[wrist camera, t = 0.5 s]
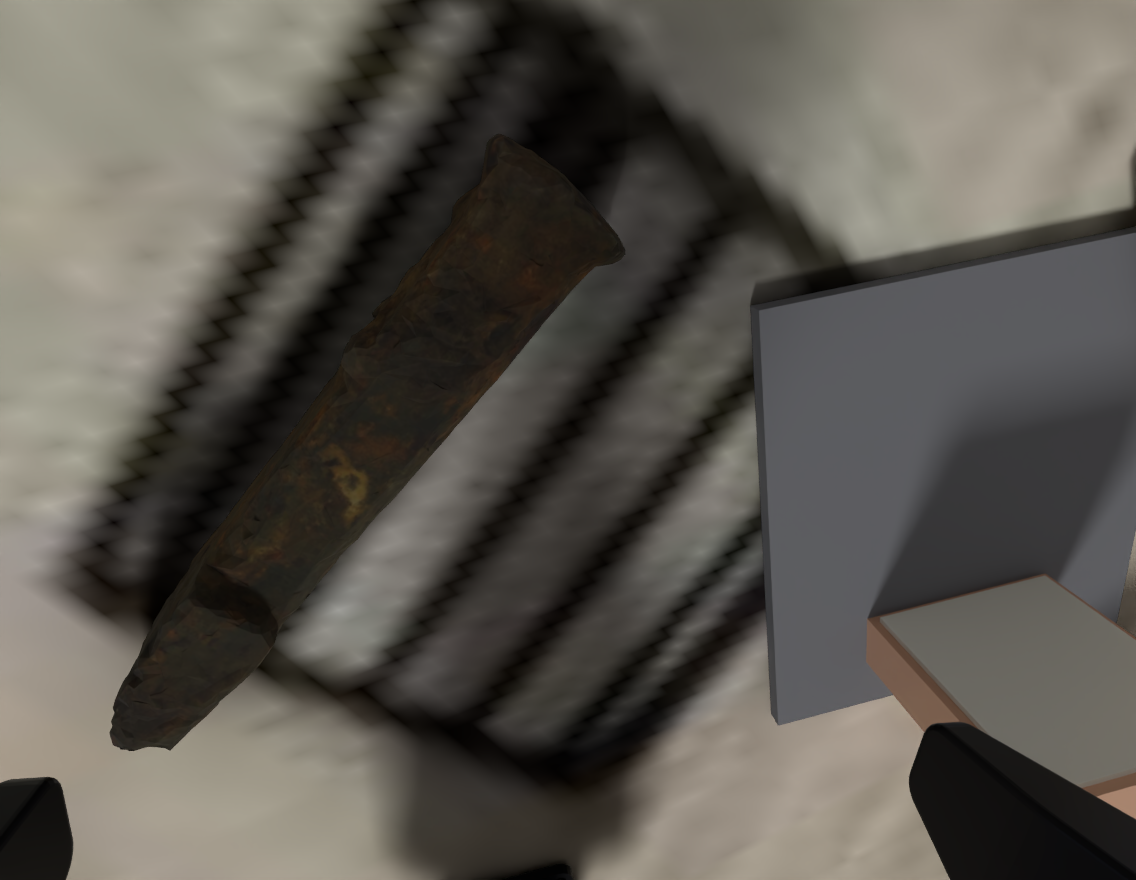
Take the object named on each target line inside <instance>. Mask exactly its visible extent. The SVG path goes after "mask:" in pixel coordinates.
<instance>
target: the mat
mask: <svg viewBox="0 0 1136 880" xmlns="http://www.w3.org/2000/svg"><path fill="white" fill-rule="evenodd" d="M750 308H751V327H752V347H753V366H754V386H755V405H756V425H757V444H758V464H759V483H760V503H761V523H762V542H763V562H764V581H765V601H766V620H767V640H768V659H769V679H770V698H771V714H772V716H773V717H774V719H775V721H776V723H777V724H778V725H782V724H786V723H790V722H793V721H797V720H801V719H805V718H808V717H812V716H816V715H820V714H823V713H827V712H831V711H835V710H838V709H842V708H846V707H850V706H853V705H857V704H861V703H865V702H868V701H872V700H876V699H880V698H884V697H887V696H891V695H893V694H892V693H891V691H890V690H889V689H888V688H887V686H886V685H885V684H884V683H883V682H882V680H881V679H880V678H879V677H878V676H877V674H876V673H875V672H874V671H873V670H872V668H871V667H870V666H869V665H868V664H867V662H866V647H867V619H868V618H872V617H876V616H880V615H884V614H888V613H892V612H896V611H900V610H904V609H908V608H912V607H915V606H919V605H923V604H927V603H931V602H935V601H939V600H943V599H947V598H951V597H955V596H959V595H963V594H967V593H971V592H974V591H978V590H982V589H986V588H990V587H994V586H998V585H1002V584H1006V583H1010V582H1014V581H1018V580H1022V579H1026V578H1030V577H1033V576H1037V575H1041V574H1045V573H1046V574H1047V575H1048V576H1050V577H1051V578H1053V579H1054V580H1055V581H1057V582H1058V583H1060V584H1061V585H1062V586H1064V587H1065V588H1067V589H1068V590H1069V591H1071V592H1072V593H1074V594H1075V595H1077V596H1078V597H1079V598H1081V599H1082V600H1084V601H1085V602H1086V603H1088V604H1089V605H1091V606H1092V607H1093V608H1095V609H1096V610H1098V611H1099V612H1100V613H1102V614H1103V615H1105V616H1106V617H1107V618H1109V619H1110V620H1112V621H1113V622H1115V623H1117V618H1118V614H1119V609H1120V604H1121V599H1122V594H1123V589H1124V584H1125V580H1126V575H1127V570H1128V565H1129V560H1130V555H1131V551H1132V546H1133V541H1134V536H1135V531H1136V227H1132V228H1127V229H1122V230H1117V231H1112V232H1107V233H1103V234H1098V235H1093V236H1088V237H1083V238H1078V239H1073V240H1068V241H1064V242H1059V243H1054V244H1049V245H1044V246H1039V247H1034V248H1030V249H1025V250H1020V251H1015V252H1010V253H1005V254H1000V255H996V256H991V257H986V258H981V259H976V260H971V261H966V262H961V263H957V264H952V265H947V266H942V267H937V268H932V269H927V270H923V271H918V272H913V273H908V274H903V275H898V276H893V277H889V278H884V279H879V280H874V281H869V282H864V283H859V284H854V285H850V286H845V287H840V288H835V289H830V290H825V291H820V292H816V293H811V294H806V295H801V296H796V297H791V298H786V299H782V300H777V301H772V302H767V303H762V304H757V305H752V306H750Z"/></svg>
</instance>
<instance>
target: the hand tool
mask: <svg viewBox="0 0 1136 880" xmlns="http://www.w3.org/2000/svg"><path fill="white" fill-rule="evenodd" d="M624 255H625V249H624V247H623V245H622V243H621V241H620V239H619V237H618V235H617V234H616V233H615V231H614V230H613V229H612V228H611V227H610V225H609V224H608V223H607V222H606V221H605V219H604V218H603V217H602V216H601V215H600V214H599V212H598V211H597V210H596V209H595V208H594V206H593V205H592V204H591V203H590V202H589V201H588V200H587V199H586V198H585V196H584V195H583V194H582V193H581V192H580V191H579V190H578V189H577V188H576V187H575V186H574V185H573V184H572V183H571V182H570V181H569V180H568V179H567V178H566V176H565V175H564V174H562V173H561V172H560V171H559V170H557V169H556V168H555V167H553V166H552V165H550V164H549V163H548V162H547V161H545V160H544V159H542V158H541V157H540V156H538V155H537V154H536V153H534V152H533V151H532V150H531V149H526V148H524V147H523V146H521V145H519V144H517V143H516V142H515V141H513V140H512V139H510V138H509V137H506V136H504V135H502V134H497V135H495V136H494V137H492V138H491V139H490V140H489V141H488V142H487V145H486V152H485V158H484V165H483V171H482V177H481V182H480V184H479V185H478V186H476V187H475V188H473V189H472V190H470V191H469V192H467V193H466V194H465V195H463V196H462V197H461V198H460V199H458V201H457V202H456V204H455V205H454V207H453V212H452V222H451V224H450V226H449V227H448V228H447V229H446V231H445V232H444V233H443V234H442V235H441V236H440V237H439V238H437V239H436V240H435V242H434V243H433V244H432V245H431V247H430V248H429V249H428V250H427V252H426V253H425V254H424V255H423V257H422V258H421V260H420V261H419V262H418V263H417V264H415V265H414V266H413V267H411V268H410V269H409V270H408V272H407V273H406V274H405V276H404V277H403V279H402V280H401V282H400V284H399V287H398V288H397V290H396V291H395V293H394V294H393V295H392V296H390V297H389V298H388V299H386V300H384V301H383V302H382V303H381V304H380V305H379V306H378V307H377V308H376V309H375V311H374V312H373V313H372V315H373V317H374V318H375V319H374V320H373V321H372V322H371V323H369V324H368V325H367V326H366V327H365V328H364V329H362V330H361V331H359V332H358V333H356V334H355V335H353V336H352V337H351V339H350V340H349V342H348V344H347V346H346V347H345V349H344V352H343V357H342V361H341V364H340V367H339V369H338V370H337V372H336V374H335V376H334V377H333V378H332V379H331V380H330V381H329V382H328V383H327V384H326V386H325V387H324V389H323V390H322V392H321V393H320V394H319V396H318V397H317V398H316V400H315V401H314V402H313V404H312V405H311V406H310V408H309V409H308V410H307V412H306V413H305V414H304V416H303V417H302V418H301V420H300V421H299V423H298V424H297V425H296V427H295V428H294V429H293V431H292V432H291V433H290V435H289V436H288V437H287V439H286V440H285V442H284V443H283V444H282V446H281V447H280V449H279V450H278V451H277V452H276V453H275V454H274V455H273V457H272V458H271V459H270V460H269V461H268V463H267V464H266V465H265V467H264V468H263V469H262V471H261V472H260V473H259V475H258V476H257V477H256V479H255V480H254V481H253V483H252V484H251V485H250V487H249V488H248V489H247V491H246V492H245V493H244V495H243V496H242V497H241V499H240V500H239V501H238V503H237V504H236V505H235V506H234V508H233V509H232V511H231V512H230V513H229V515H228V516H227V518H226V519H225V520H224V521H223V522H222V523H221V525H220V526H219V527H218V528H217V530H216V531H215V532H214V533H213V534H212V535H211V537H210V538H209V539H208V540H207V542H206V543H205V544H204V546H203V547H202V548H201V550H200V551H199V552H198V554H197V555H196V556H195V557H194V559H193V560H192V562H191V565H190V568H189V570H188V571H187V573H186V574H185V575H184V577H183V578H182V579H181V580H180V582H179V584H178V585H177V587H176V589H175V590H174V592H173V593H172V594H171V595H170V596H169V598H168V599H167V600H166V602H165V604H164V606H163V607H162V609H161V611H160V612H159V614H158V616H157V617H156V619H155V621H154V622H153V625H152V628H151V630H150V632H149V633H148V635H147V637H146V639H145V640H144V642H143V645H142V648H141V651H140V654H139V656H138V658H137V660H136V661H135V663H134V665H133V666H132V669H131V671H130V673H129V674H128V676H127V677H126V678H125V680H124V681H123V683H122V685H121V687H120V690H119V692H118V694H117V697H116V699H115V702H114V706H113V710H114V712H115V713H114V716H113V718H112V721H111V722H112V728H111V731H110V737H111V740H112V743H113V745H114V746H117V747H119V748H120V749H124V750H129V751H135V750H138V749H141V748H145V747H160V748H166V749H168V750H171V749H172V748H173V747H174V746H175V745H176V744H177V743H178V742H179V741H180V740H181V739H182V738H183V737H184V736H185V735H186V734H187V733H188V732H189V731H190V730H191V729H192V728H193V727H195V726H196V725H197V724H198V723H199V722H200V721H201V720H203V719H204V718H205V717H206V716H207V715H208V714H209V713H210V712H211V711H212V710H213V709H214V708H215V707H216V706H217V705H218V703H219V702H220V701H221V700H222V699H223V698H224V697H225V696H227V695H228V694H229V693H230V692H231V691H233V690H234V689H235V688H236V687H237V686H238V685H239V684H240V683H242V682H243V681H244V680H245V679H246V678H247V677H248V676H249V675H250V674H251V673H252V672H253V671H254V670H255V669H256V668H257V667H258V666H259V665H260V664H261V662H262V661H263V659H264V658H265V656H266V655H267V654H268V653H269V651H270V650H271V648H272V646H273V645H274V643H275V640H276V636H277V634H278V632H279V630H280V628H281V626H282V624H283V623H284V622H285V621H286V620H287V619H288V618H289V616H290V615H291V614H292V613H293V612H294V611H295V610H297V609H298V608H299V607H300V605H301V604H302V603H303V602H304V600H305V599H306V598H307V597H308V596H309V595H310V593H311V592H312V590H313V589H314V588H315V587H316V585H317V584H318V583H319V582H320V580H321V579H322V578H323V577H324V576H325V574H326V573H327V572H328V571H329V570H330V569H331V567H332V566H333V565H334V564H335V563H336V561H337V560H338V558H339V556H340V555H341V554H342V553H343V552H344V551H345V550H346V549H347V548H348V547H349V546H350V545H351V544H353V543H354V542H355V541H356V540H357V539H358V538H359V537H360V536H361V534H362V533H363V532H364V530H365V529H366V528H367V527H368V525H369V524H370V523H371V522H372V521H373V520H374V518H375V517H376V516H377V515H378V514H379V513H380V512H381V511H382V510H383V509H384V508H385V507H386V506H387V505H388V504H389V503H390V502H391V501H392V500H393V499H394V498H395V497H396V495H397V494H398V493H399V492H400V491H401V490H402V489H403V487H404V486H405V485H406V484H407V483H408V481H409V480H410V479H411V478H412V477H413V476H414V474H415V473H416V472H417V471H418V470H419V469H420V468H421V466H422V465H423V464H424V463H425V462H426V461H427V459H428V458H429V457H430V456H431V455H432V454H433V453H434V451H435V450H436V449H437V448H438V447H439V446H440V445H441V444H442V442H443V441H444V440H445V439H446V438H447V437H448V436H449V434H450V433H451V432H452V431H453V429H454V428H455V427H456V426H457V425H458V424H459V423H460V421H461V420H462V419H463V418H464V417H465V416H466V415H467V414H468V412H469V411H470V410H471V409H472V408H473V406H474V405H475V404H476V403H477V402H478V400H479V399H480V398H481V397H482V396H483V395H484V393H485V392H486V391H487V390H488V389H489V388H490V387H491V386H492V385H493V384H494V383H495V382H496V381H497V379H498V378H499V377H500V376H501V375H502V373H503V372H504V371H505V370H506V369H507V367H508V366H509V365H510V364H511V362H512V361H513V360H514V359H515V358H516V356H517V355H518V354H519V353H520V351H521V350H522V349H523V348H524V346H525V345H526V344H527V343H528V342H529V340H530V339H531V338H532V337H533V336H534V334H535V333H536V332H537V331H538V330H539V328H540V327H541V325H542V324H543V323H544V322H545V321H546V320H547V318H548V317H549V316H550V315H551V314H552V313H553V312H554V310H555V309H556V308H557V307H558V306H559V305H560V304H561V303H562V301H563V300H564V299H565V298H566V297H567V295H568V294H569V293H570V292H571V291H572V290H573V288H574V287H575V286H576V285H577V284H578V283H579V282H580V281H581V280H582V279H583V278H584V277H585V276H586V275H587V274H588V273H589V272H590V271H591V270H592V269H593V268H595V267H596V266H602V265H609V264H613V263H615V262H617V261H619V260H621V259H622V258H623V256H624Z"/></svg>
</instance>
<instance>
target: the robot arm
mask: <svg viewBox="0 0 1136 880" xmlns="http://www.w3.org/2000/svg"><path fill="white" fill-rule="evenodd" d="M909 788H910V793H911V796H912V799H913V802H914V804H915V806H916V808H917V810H918V812H919V814H920V817H921V819H922V821H923V823H924V825H925V827H926V829H927V831H928V834H929V836H930V838H931V840H932V842H933V844H934V846H935V848H936V851H937V853H938V855H939V857H940V859H941V861H942V863H943V865H944V868H945V870H946V872H947V874H948V876H949V878H950V880H1136V819H1135V818H1133V817H1131V816H1129V815H1128V814H1126V813H1124V812H1122V811H1121V810H1119V809H1117V808H1115V807H1114V806H1112V805H1110V804H1108V803H1107V802H1105V801H1103V800H1101V799H1100V798H1098V797H1096V796H1094V795H1093V794H1091V793H1089V792H1087V791H1086V790H1084V789H1082V788H1080V787H1079V786H1077V785H1075V784H1073V783H1072V782H1070V781H1068V780H1066V779H1065V778H1063V777H1061V776H1059V775H1058V774H1056V773H1054V772H1052V771H1051V770H1049V769H1047V768H1045V767H1044V766H1042V765H1040V764H1038V763H1037V762H1035V761H1033V760H1031V759H1030V758H1028V757H1026V756H1024V755H1023V754H1021V753H1019V752H1017V751H1016V750H1014V749H1012V748H1010V747H1009V746H1007V745H1005V744H1004V743H1002V742H1000V741H998V740H997V739H995V738H993V737H991V736H990V735H988V734H986V733H984V732H983V731H981V730H979V729H977V728H976V727H974V726H972V725H970V724H967V723H964V722H948V723H935V724H932V725H930V726H929V727H928V728H927V729H926V731H925V733H924V735H923V738H922V741H921V743H920V746H919V749H918V752H917V755H916V758H915V760H914V763H913V766H912V769H911V772H910V775H909ZM72 855H73V837H72V832H71V828H70V823H69V818H68V814H67V809H66V804H65V799H64V795H63V790H62V787H61V784H60V783H59V782H58V780H56V779H55V778H50V777H40V778H24V779H11V780H7V781H4V782H2V783H0V880H66V878H67V875H68V872H69V869H70V865H71V861H72ZM503 880H574V879H573V875H572V871H571V868H570V867H569V866H568V865H566V864H558V865H554V866H550V867H546V868H543V869H539V870H536V871H532V872H528V873H525V874H521V875H518V876H514V877H510V878H507V879H503Z"/></svg>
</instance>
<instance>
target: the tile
mask: <svg viewBox="0 0 1136 880" xmlns="http://www.w3.org/2000/svg"><path fill="white" fill-rule="evenodd" d="M866 662H867V664H868V665H869V666H870V667H871V668H872V670H873V671H874V672H875V673H876V674H877V676H878V677H879V678H880V679H881V680H882V682H883V683H884V684H885V685H886V686H887V688H888V689H889V690H890V691H891V693H892V694H893V695H894V696H895V697H896V699H897V700H898V701H899V702H900V703H901V705H902V706H903V707H904V708H905V709H906V711H907V712H908V713H909V714H910V715H911V717H912V718H913V719H914V720H915V722H916V723H917V724H918V725H919V726H920V728H921V729H922V730H923V731H924V732H925V731H926V729H927V728H928V727H929V726H930V725H932V724H935V723H948V722H964V723H967V724H970V725H972V726H974V727H976V728H977V729H979V730H981V731H983V732H984V733H986V734H988V735H990V736H991V737H993V738H995V739H997V740H998V741H1000V742H1002V743H1004V744H1005V745H1007V746H1009V747H1010V748H1012V749H1014V750H1016V751H1017V752H1019V753H1021V754H1023V755H1024V756H1026V757H1028V758H1030V759H1031V760H1033V761H1035V762H1037V763H1038V764H1040V765H1042V766H1044V767H1045V768H1047V769H1049V770H1051V771H1052V772H1054V773H1056V774H1058V775H1059V776H1061V777H1063V778H1065V779H1066V780H1068V781H1070V782H1072V783H1073V784H1075V785H1077V786H1079V787H1080V788H1082V789H1084V790H1086V791H1087V792H1089V793H1091V794H1093V795H1094V796H1096V797H1098V798H1100V799H1101V800H1103V801H1105V802H1107V803H1108V804H1110V805H1112V806H1114V807H1115V808H1117V809H1119V810H1121V811H1122V812H1124V813H1126V814H1128V815H1129V816H1131V817H1133V818H1135V819H1136V637H1134V636H1133V635H1131V634H1130V633H1129V632H1127V631H1126V630H1124V629H1123V628H1122V627H1120V626H1119V625H1117V624H1116V623H1115V622H1113V621H1112V620H1110V619H1109V618H1107V617H1106V616H1105V615H1103V614H1102V613H1100V612H1099V611H1098V610H1096V609H1095V608H1093V607H1092V606H1091V605H1089V604H1088V603H1086V602H1085V601H1084V600H1082V599H1081V598H1079V597H1078V596H1077V595H1075V594H1074V593H1072V592H1071V591H1069V590H1068V589H1067V588H1065V587H1064V586H1062V585H1061V584H1060V583H1058V582H1057V581H1055V580H1054V579H1053V578H1051V577H1050V576H1048V575H1047V574H1046V573H1045V574H1041V575H1037V576H1033V577H1030V578H1026V579H1022V580H1018V581H1014V582H1010V583H1006V584H1002V585H998V586H994V587H990V588H986V589H982V590H978V591H974V592H971V593H967V594H963V595H959V596H955V597H951V598H947V599H943V600H939V601H935V602H931V603H927V604H923V605H919V606H915V607H912V608H908V609H904V610H900V611H896V612H892V613H888V614H884V615H880V616H876V617H872V618H868V619H867V647H866Z"/></svg>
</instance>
